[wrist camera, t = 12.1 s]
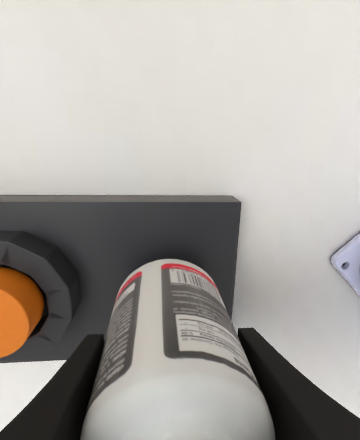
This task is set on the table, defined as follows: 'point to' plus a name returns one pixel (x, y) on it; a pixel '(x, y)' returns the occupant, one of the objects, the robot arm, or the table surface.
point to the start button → (17, 309)
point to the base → (107, 254)
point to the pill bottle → (174, 364)
